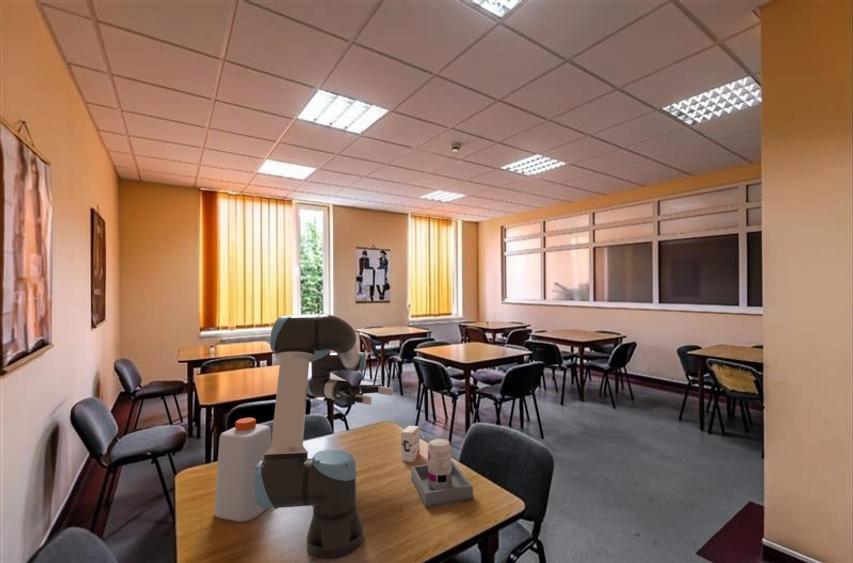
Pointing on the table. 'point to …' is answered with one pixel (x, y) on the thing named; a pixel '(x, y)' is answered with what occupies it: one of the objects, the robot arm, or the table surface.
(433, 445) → the supplement can
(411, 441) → the ink box
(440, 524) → the table surface
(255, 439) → the plastic bottle
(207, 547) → the table surface
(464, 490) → the tote
